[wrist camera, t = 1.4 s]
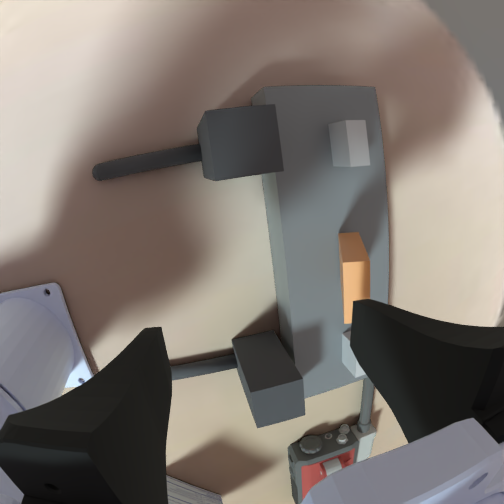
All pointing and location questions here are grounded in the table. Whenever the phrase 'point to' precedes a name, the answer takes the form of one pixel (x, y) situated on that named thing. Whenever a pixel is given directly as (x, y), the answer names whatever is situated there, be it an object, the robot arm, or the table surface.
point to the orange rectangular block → (353, 272)
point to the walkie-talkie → (331, 449)
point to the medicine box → (189, 493)
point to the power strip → (324, 220)
